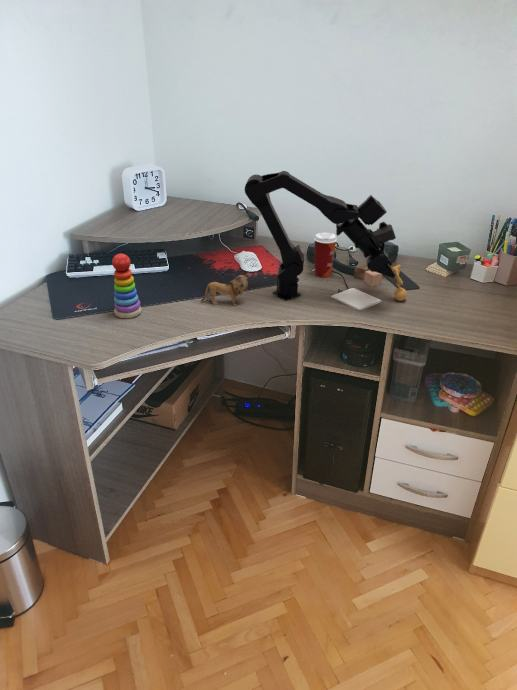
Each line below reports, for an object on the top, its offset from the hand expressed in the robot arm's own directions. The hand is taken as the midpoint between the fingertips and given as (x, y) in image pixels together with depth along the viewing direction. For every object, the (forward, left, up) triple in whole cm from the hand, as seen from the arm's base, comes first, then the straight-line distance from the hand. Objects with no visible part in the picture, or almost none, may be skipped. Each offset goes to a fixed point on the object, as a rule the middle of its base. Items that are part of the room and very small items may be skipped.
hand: (392, 270), depth 168 cm
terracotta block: (-12, +6, -10) cm, 16 cm away
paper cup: (-27, -2, -10) cm, 29 cm away
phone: (-7, +15, -10) cm, 19 cm away
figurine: (+2, +2, -10) cm, 10 cm away
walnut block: (-17, +7, -10) cm, 21 cm away
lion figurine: (-30, -42, -10) cm, 52 cm away
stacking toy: (-41, -69, -10) cm, 81 cm away
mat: (-6, -8, -10) cm, 14 cm away
